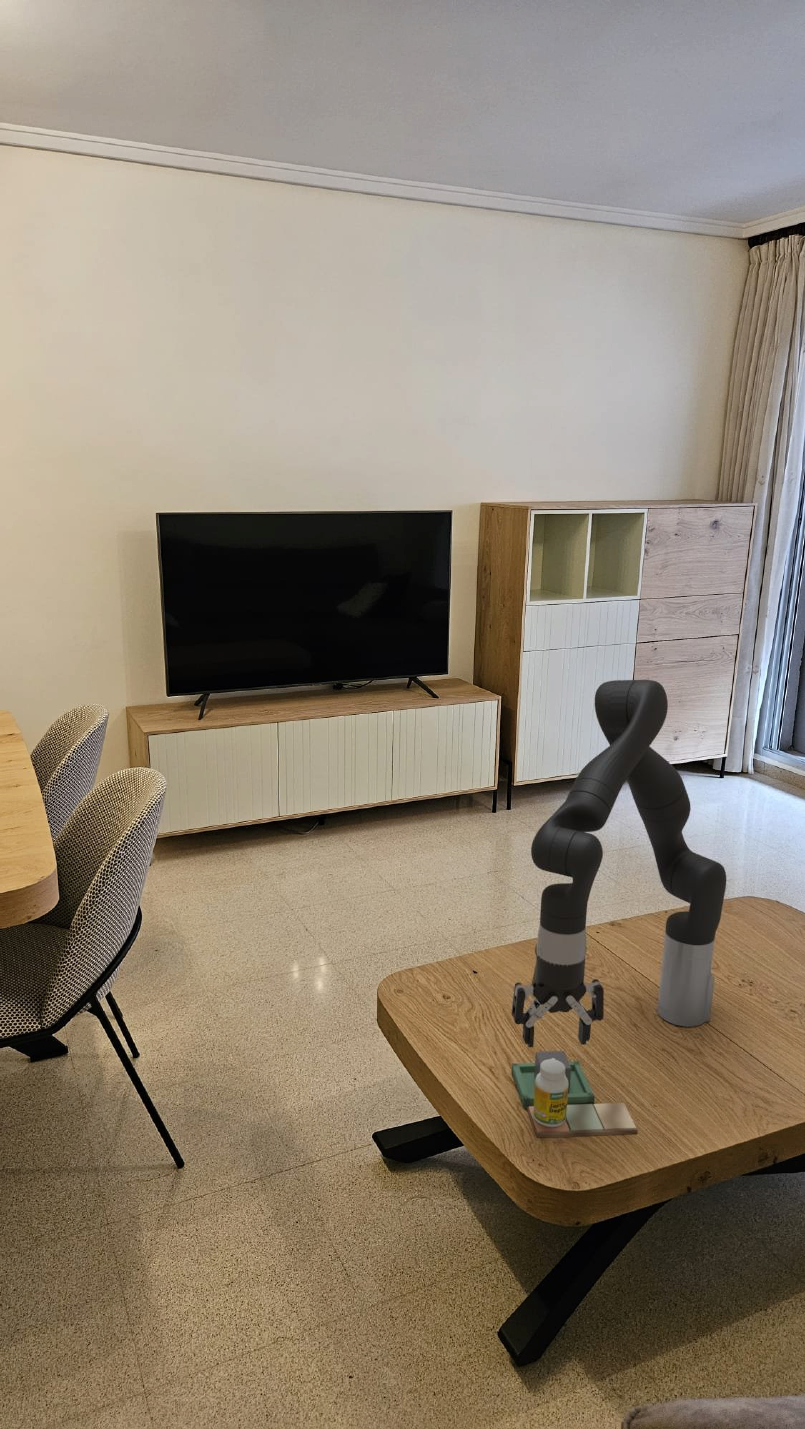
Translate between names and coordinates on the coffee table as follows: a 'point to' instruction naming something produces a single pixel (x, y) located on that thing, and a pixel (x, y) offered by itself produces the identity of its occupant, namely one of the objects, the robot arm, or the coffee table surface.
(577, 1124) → the track
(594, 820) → the robot arm
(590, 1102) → the tray
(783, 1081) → the coffee table surface
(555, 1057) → the die
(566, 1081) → the supplement bottle
